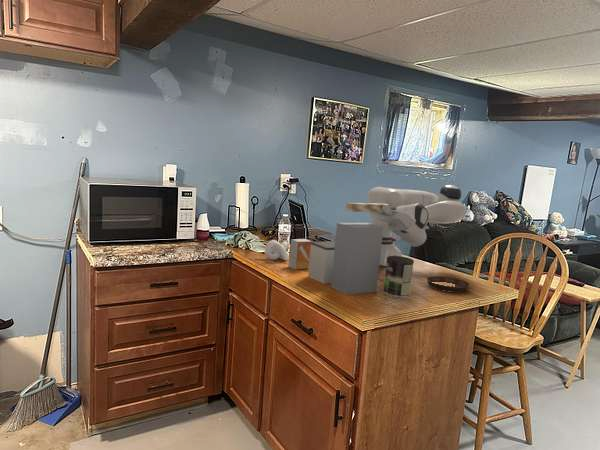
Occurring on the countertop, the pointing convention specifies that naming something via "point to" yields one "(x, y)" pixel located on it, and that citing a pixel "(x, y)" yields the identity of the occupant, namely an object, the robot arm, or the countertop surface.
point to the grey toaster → (321, 261)
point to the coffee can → (398, 276)
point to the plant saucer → (459, 284)
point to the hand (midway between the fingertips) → (378, 206)
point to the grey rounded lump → (276, 250)
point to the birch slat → (365, 207)
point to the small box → (299, 253)
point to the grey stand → (356, 257)
